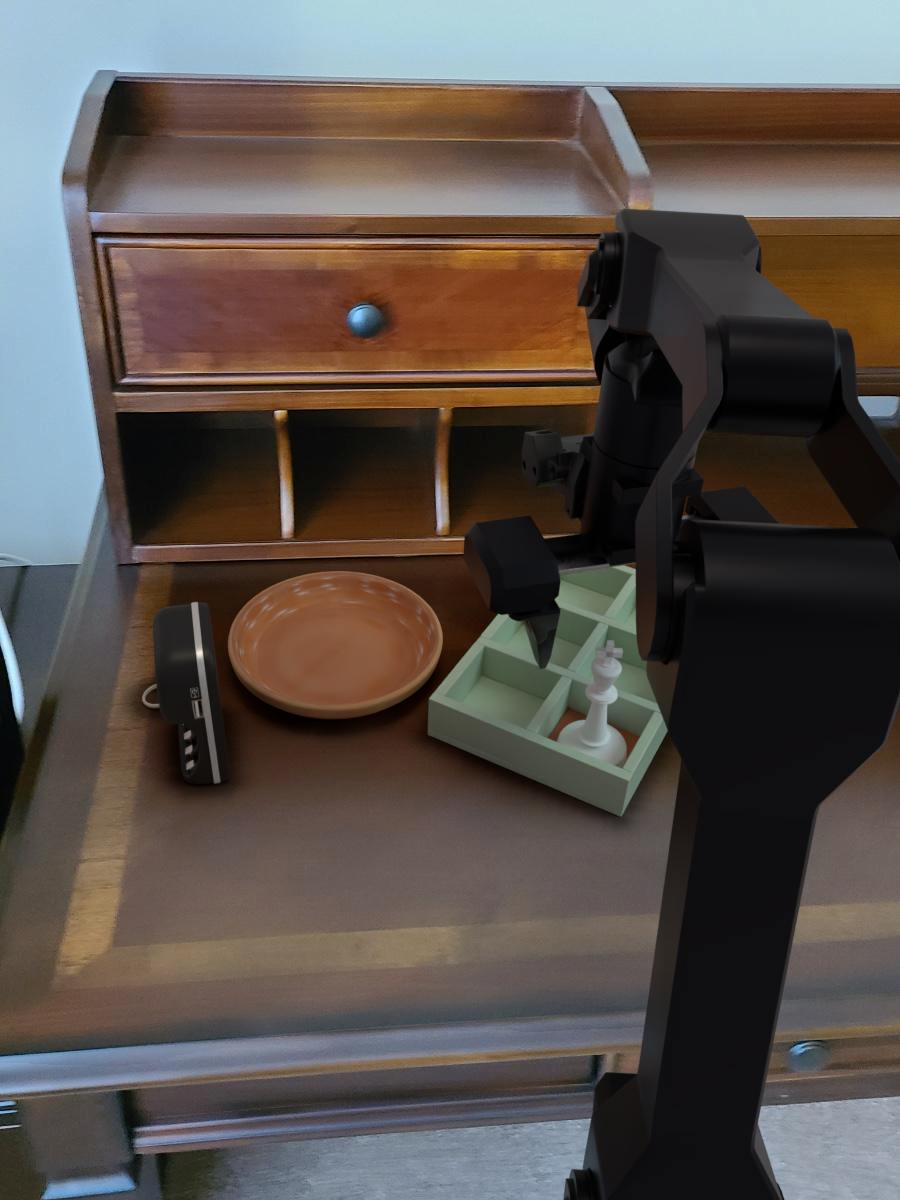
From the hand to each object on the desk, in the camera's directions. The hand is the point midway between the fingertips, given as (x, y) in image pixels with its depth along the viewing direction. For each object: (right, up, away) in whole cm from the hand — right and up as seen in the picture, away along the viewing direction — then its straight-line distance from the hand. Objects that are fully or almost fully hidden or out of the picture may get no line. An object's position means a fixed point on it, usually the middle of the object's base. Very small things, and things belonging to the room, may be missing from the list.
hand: (607, 652), depth 69 cm
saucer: (-19, -2, +13) cm, 23 cm away
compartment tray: (0, -3, +12) cm, 13 cm away
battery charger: (-28, -7, +5) cm, 29 cm away
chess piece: (0, -7, +6) cm, 9 cm away
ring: (-31, -4, +9) cm, 33 cm away
